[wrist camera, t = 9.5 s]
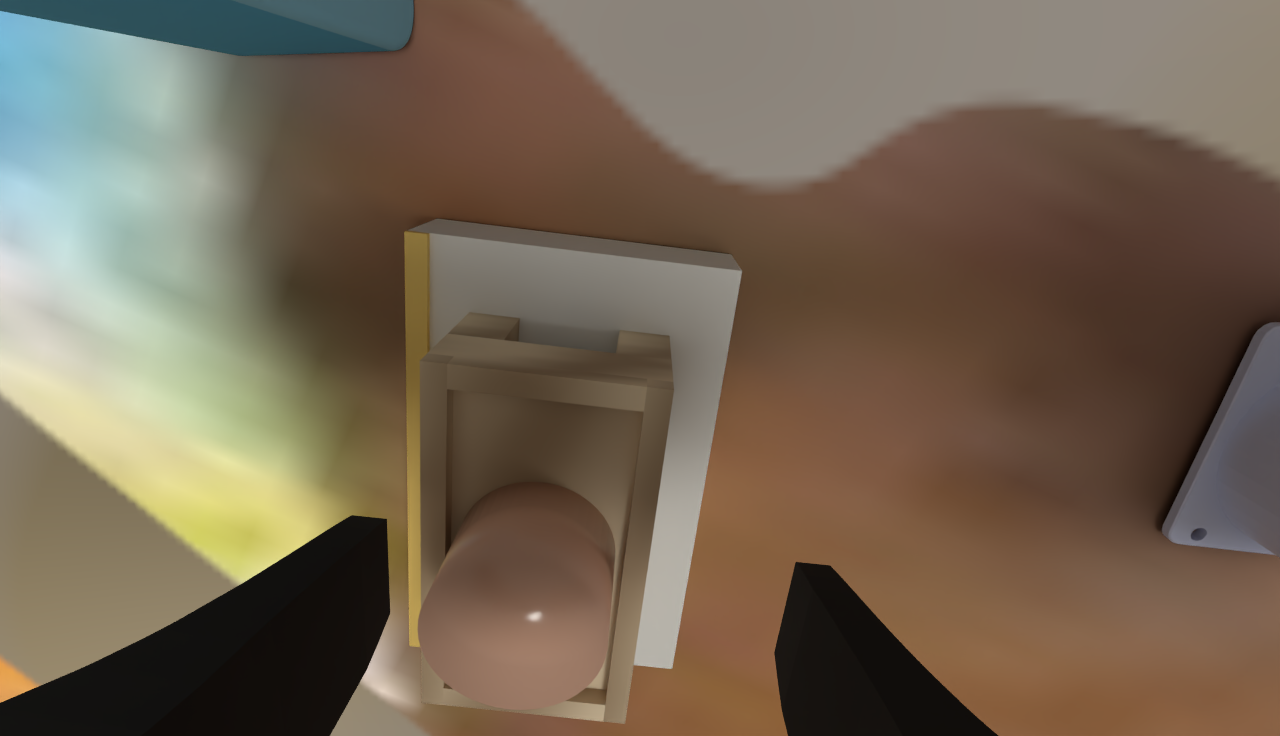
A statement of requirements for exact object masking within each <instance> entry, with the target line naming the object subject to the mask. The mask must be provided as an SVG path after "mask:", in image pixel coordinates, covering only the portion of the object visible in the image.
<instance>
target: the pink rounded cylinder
mask: <svg viewBox="0 0 1280 736" xmlns="http://www.w3.org/2000/svg"><path fill="white" fill-rule="evenodd" d="M615 556H616V548H615V541H614V537H613V533H612V531H611V529H610V526H609V524H608V523H607V521H606V519H605V518H604V516H603V515H602V514H601V513H600V511H599V510H598V509H597V508H596V507H595V506H594V505H593V504H592V503H591V502H589V501H588V500H587V499H585V498H584V497H582V496H581V495H579V494H577V493H575V492H574V491H572V490H569V489H567V488H564V487H561V486H558V485H554V484H550V483H544V482H519V483H514V484H509V485H506V486H503V487H500V488H498V489H495V490H493V491H491V492H490V493H488V494H486V495H485V496H483V497H482V498H481V499H480V500H478V501H477V502H476V503H475V504H474V505H473V507H472V508H471V509H470V510H469V512H468V513H467V515H466V516H465V518H464V520H463V522H462V524H461V526H460V528H459V530H458V533H457V535H456V537H455V539H454V541H453V543H452V545H451V547H450V549H449V551H448V553H447V555H446V557H445V559H444V561H443V563H442V565H441V567H440V570H439V572H438V574H437V576H436V578H435V580H434V582H433V584H432V586H431V588H430V590H429V592H428V594H427V596H426V598H425V600H424V603H423V605H422V607H421V610H420V614H419V618H418V629H417V630H418V639H419V643H420V647H421V650H422V652H423V654H424V657H425V659H426V660H427V662H428V664H429V665H430V667H431V668H432V669H433V671H434V672H435V673H436V674H437V676H439V677H440V678H441V679H442V680H443V681H444V682H445V683H446V684H447V685H449V686H450V687H451V688H452V689H454V690H455V691H457V692H459V693H460V694H462V695H464V696H465V697H468V698H470V699H472V700H474V701H477V702H479V703H482V704H485V705H489V706H493V707H497V708H503V709H511V710H531V709H539V708H545V707H549V706H553V705H556V704H559V703H561V702H564V701H566V700H568V699H570V698H572V697H574V696H575V695H577V694H578V693H580V692H581V691H583V690H584V689H585V688H586V687H587V686H588V685H589V684H590V683H591V682H592V681H593V680H594V679H595V677H596V676H597V675H598V673H599V671H600V670H601V668H602V666H603V663H604V661H605V658H606V654H607V649H608V638H609V627H610V615H611V604H612V592H613V580H614V569H615Z"/></svg>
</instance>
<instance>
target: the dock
mask: <svg viewBox="0 0 1280 736" xmlns="http://www.w3.org/2000/svg"><path fill="white" fill-rule="evenodd" d="M404 246H405V327H406V408H407V489H408V570H409V646H416V647H420V643H419V639H418V630H417V629H418V618H419V614H420V610H421V526H420V360H421V359H422V358H423V357H424V356H425V355H426V354H427V353H428V352H429V351H430V350H431V349H432V348H433V347H434V346H435V345H436V344H437V343H438V342H439V341H440V340H441V339H442V338H444V337H445V336H446V335H447V334H448V333H449V332H450V331H451V330H452V329H453V328H454V327H455V326H456V325H457V324H458V323H459V322H460V321H461V320H462V319H463V318H464V317H465V316H466V315H467V314H468V313H469V312H472V313H481V314H489V315H498V316H506V317H515V318H520V323H519V342H524V343H533V344H541V345H550V346H558V347H567V348H575V349H584V350H592V351H601V352H609V353H616V350H617V344H618V338H619V332H620V330H625V331H633V332H642V333H650V334H659V335H667V336H670V347H671V359H672V371H673V383H674V394H673V401H672V408H671V415H670V422H669V428H668V435H667V442H666V449H665V455H664V462H663V469H662V476H661V483H660V489H659V496H658V503H657V510H656V516H655V523H654V530H653V537H652V543H651V550H650V557H649V564H648V571H647V577H646V584H645V591H644V598H643V604H642V611H641V618H640V625H639V632H638V638H637V645H636V652H635V659H634V665H639V666H649V667H658V668H668V669H672V666H673V660H674V655H675V649H676V643H677V638H678V632H679V626H680V621H681V615H682V609H683V604H684V598H685V592H686V587H687V581H688V575H689V570H690V564H691V558H692V553H693V547H694V541H695V536H696V530H697V524H698V519H699V513H700V507H701V502H702V496H703V490H704V485H705V479H706V473H707V467H708V462H709V456H710V450H711V445H712V439H713V433H714V428H715V422H716V416H717V411H718V405H719V399H720V394H721V388H722V382H723V377H724V371H725V365H726V360H727V354H728V348H729V343H730V337H731V331H732V326H733V320H734V314H735V309H736V303H737V297H738V292H739V286H740V280H741V275H742V270H741V269H740V267H739V265H738V264H737V262H736V261H735V259H734V258H733V256H732V255H731V254H724V253H716V252H708V251H700V250H691V249H683V248H675V247H667V246H658V245H650V244H642V243H634V242H626V241H617V240H609V239H601V238H593V237H585V236H576V235H568V234H560V233H552V232H543V231H535V230H527V229H519V228H511V227H502V226H494V225H486V224H478V223H470V222H461V221H453V220H445V219H435V220H432V221H430V222H427V223H425V224H422V225H420V226H417V227H415V228H412V229H409V230H407V231H404Z"/></svg>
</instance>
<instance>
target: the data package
mask: <svg viewBox="0 0 1280 736" xmlns="http://www.w3.org/2000/svg"><path fill="white" fill-rule="evenodd" d="M0 11H4V12H9V13H15V14H20V15H25V16H31V17H36V18H41V19H47V20H52V21H57V22H62V23H68V24H73V25H78V26H84V27H89V28H94V29H100V30H105V31H110V32H116V33H121V34H126V35H132V36H137V37H142V38H147V39H153V40H158V41H163V42H169V43H174V44H179V45H185V46H190V47H195V48H201V49H206V50H211V51H217V52H222V53H227V54H232V55H239V56H252V55H283V54H313V53H344V52H375V51H396V50H399V49H401V48H403V47H404V46H405V45H406V43H407V42H408V40H409V38H410V36H411V32H412V27H413V18H414V3H413V0H0Z"/></svg>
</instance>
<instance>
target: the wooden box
mask: <svg viewBox="0 0 1280 736" xmlns="http://www.w3.org/2000/svg"><path fill="white" fill-rule="evenodd" d="M519 323H520V318H515V317H506V316H498V315H489V314H481V313H472V312H469V313H468V314H467V315H466V316H465V317H464V318H463V319H462V320H461V321H460V322H459V323H458V324H457V325H456V326H455V327H454V328H453V329H452V330H451V331H450V332H449V333H448V334H447V335H446V336H445V337H444V338H442V339H441V340H440V341H439V342H438V343H437V344H436V345H435V346H434V347H433V348H432V349H431V350H430V351H429V352H428V353H427V354H426V355H425V356H424V357H423V358H422V359H421V360H420V526H421V607H422V605H423V603H424V600H425V598H426V596H427V594H428V592H429V590H430V588H431V586H432V584H433V582H434V580H435V578H436V576H437V574H438V572H439V570H440V567H441V565H442V563H443V561H444V559H445V557H446V555H447V553H448V551H449V549H450V547H451V545H452V543H453V541H454V539H455V537H456V535H457V533H458V530H459V528H460V526H461V524H462V522H463V520H464V518H465V516H466V515H467V513H468V512H469V510H470V509H471V508H472V507H473V505H474V504H475V503H476V502H477V501H478V500H480V499H481V498H482V497H483V496H485V495H486V494H488V493H490V492H491V491H493V490H495V489H498V488H500V487H503V486H506V485H509V484H514V483H519V482H544V483H550V484H554V485H558V486H561V487H564V488H567V489H569V490H572V491H574V492H575V493H577V494H579V495H581V496H582V497H584V498H585V499H587V500H588V501H589V502H591V503H592V504H593V505H594V506H595V507H596V508H597V509H598V510H599V511H600V513H601V514H602V515H603V516H604V518H605V519H606V521H607V523H608V524H609V526H610V529H611V531H612V533H613V537H614V541H615V548H616V556H615V569H614V580H613V592H612V604H611V615H610V627H609V638H608V649H607V654H606V658H605V661H604V663H603V666H602V668H601V670H600V671H599V673H598V675H597V676H596V677H595V679H594V680H593V681H592V682H591V683H590V684H589V685H588V686H587V687H586V688H585V689H584V690H583V691H581V692H580V693H578V694H577V695H575V696H574V697H572V698H570V699H568V700H566V701H564V702H561V703H559V704H556V705H553V706H549V707H545V708H539V709H531V710H511V709H503V708H497V707H493V706H489V705H485V704H482V703H479V702H477V701H474V700H472V699H470V698H468V697H465V696H464V695H462V694H460V693H459V692H457V691H455V690H454V689H452V688H451V687H450V686H449V685H447V684H446V683H445V682H444V681H443V680H442V679H441V678H440V677H439V676H437V674H436V673H435V672H434V671H433V669H432V668H431V667H430V665H429V664H428V662H427V660H426V659H425V657H424V654H423V652H422V650H421V703H430V704H440V705H449V706H459V707H469V708H478V709H488V710H498V711H507V712H517V713H527V714H536V715H546V716H556V717H565V718H575V719H585V720H595V721H604V722H614V723H624V724H625V720H626V713H627V706H628V699H629V693H630V686H631V679H632V672H633V665H634V659H635V652H636V645H637V638H638V632H639V625H640V618H641V611H642V604H643V598H644V591H645V584H646V577H647V571H648V564H649V557H650V550H651V543H652V537H653V530H654V523H655V516H656V510H657V503H658V496H659V489H660V483H661V476H662V469H663V462H664V455H665V449H666V442H667V435H668V428H669V422H670V415H671V408H672V401H673V394H674V383H673V371H672V359H671V347H670V336H667V335H659V334H650V333H642V332H633V331H625V330H620V332H619V338H618V344H617V350H616V353H609V352H601V351H592V350H584V349H575V348H567V347H558V346H550V345H541V344H533V343H524V342H519Z"/></svg>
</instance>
